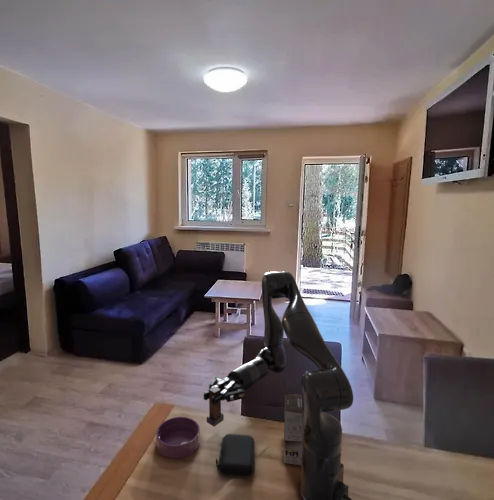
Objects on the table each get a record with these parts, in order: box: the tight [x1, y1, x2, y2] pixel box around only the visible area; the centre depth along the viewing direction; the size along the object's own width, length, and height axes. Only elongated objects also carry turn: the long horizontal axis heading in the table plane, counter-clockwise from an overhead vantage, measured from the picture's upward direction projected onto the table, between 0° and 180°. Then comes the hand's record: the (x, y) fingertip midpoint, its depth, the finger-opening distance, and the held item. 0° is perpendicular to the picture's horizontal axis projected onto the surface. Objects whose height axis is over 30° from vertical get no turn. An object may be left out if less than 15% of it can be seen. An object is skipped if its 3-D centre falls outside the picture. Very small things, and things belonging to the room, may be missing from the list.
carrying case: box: [215, 433, 255, 478], centre depth 96 cm, size 11×3×15 cm
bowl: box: [155, 416, 201, 459], centre depth 102 cm, size 13×13×4 cm
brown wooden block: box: [206, 386, 225, 427], centre depth 106 cm, size 4×3×11 cm
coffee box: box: [283, 393, 303, 466], centre depth 97 cm, size 9×6×16 cm
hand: (208, 399), depth 103 cm, fingers closed on brown wooden block, 2 cm apart
